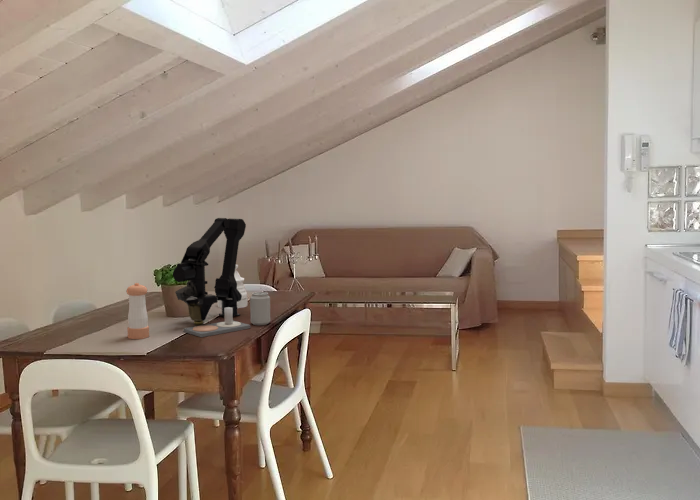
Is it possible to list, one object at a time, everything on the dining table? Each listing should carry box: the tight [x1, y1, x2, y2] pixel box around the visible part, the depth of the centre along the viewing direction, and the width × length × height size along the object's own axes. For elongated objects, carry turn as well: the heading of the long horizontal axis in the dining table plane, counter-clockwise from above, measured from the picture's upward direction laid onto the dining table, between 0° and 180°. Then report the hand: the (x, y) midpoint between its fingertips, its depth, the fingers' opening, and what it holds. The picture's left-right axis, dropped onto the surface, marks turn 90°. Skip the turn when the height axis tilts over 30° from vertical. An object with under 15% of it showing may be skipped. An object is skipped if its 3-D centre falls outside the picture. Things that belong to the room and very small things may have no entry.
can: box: [249, 291, 271, 326], centre depth 268 cm, size 8×8×12 cm
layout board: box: [183, 307, 251, 338], centre depth 258 cm, size 12×21×8 cm, turn 133°
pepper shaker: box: [126, 282, 150, 340], centre depth 246 cm, size 7×7×19 cm
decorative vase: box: [187, 302, 204, 326], centre depth 267 cm, size 8×7×8 cm
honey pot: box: [217, 264, 249, 309], centre depth 304 cm, size 13×13×18 cm
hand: (198, 319), depth 267 cm, fingers closed on decorative vase, 6 cm apart
